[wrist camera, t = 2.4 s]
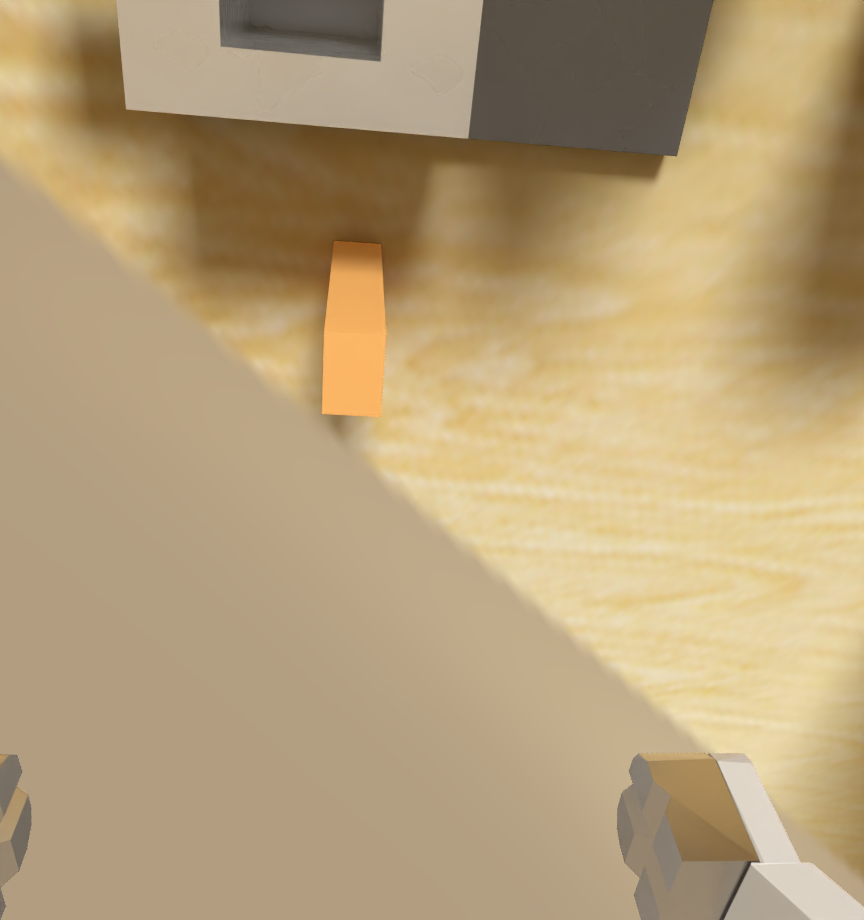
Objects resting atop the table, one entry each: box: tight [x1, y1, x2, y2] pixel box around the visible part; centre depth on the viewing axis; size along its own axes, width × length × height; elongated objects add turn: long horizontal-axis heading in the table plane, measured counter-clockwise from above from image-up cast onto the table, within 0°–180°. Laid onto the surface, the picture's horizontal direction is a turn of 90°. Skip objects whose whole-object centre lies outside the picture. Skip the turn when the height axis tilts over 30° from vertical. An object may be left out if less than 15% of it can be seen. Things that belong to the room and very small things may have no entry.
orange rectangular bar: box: [322, 241, 386, 417], centre depth 25 cm, size 2×2×8 cm
